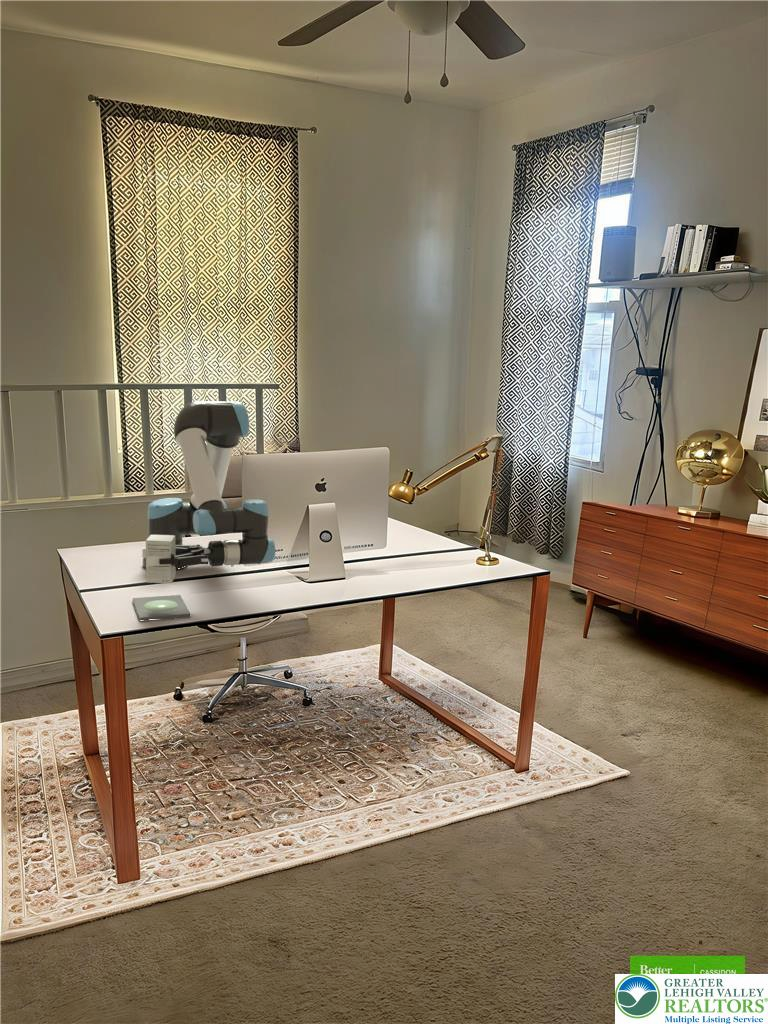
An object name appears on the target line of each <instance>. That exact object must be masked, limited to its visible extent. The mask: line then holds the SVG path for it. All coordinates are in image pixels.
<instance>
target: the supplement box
mask: <svg viewBox="0 0 768 1024" xmlns="http://www.w3.org/2000/svg"><path fill="white" fill-rule="evenodd" d="M145 548H146V568H145V582H146V583H150V584H151V583H152V584H153V583H155V584H172V583H173V581H174V580H175V578H176V571H177V570H176V567H174V566H172V565H163V566H147V556H165V555H170V556H171V554H174V555H175V536H174V535H150V536H149V537H148V536H147V539H145Z"/></svg>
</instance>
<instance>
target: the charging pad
mask: <svg viewBox="0 0 768 1024" xmlns="http://www.w3.org/2000/svg"><path fill="white" fill-rule="evenodd" d="M132 604H133V608H134V610H135V609H136V610H135V612H137V613H136V614H137V615H136V616H137V618H138V617H139V618H138V621H139V620H149V619H167V620H179V619H188V618H189V619H190V618H191V612H190V609H188V608H189V607H187V605H186V603H185V601H184V599H183V597H182V595H181V594H173V595H161V596H160V595H159V596H158V595H157V596H143V597H132ZM175 618H176V619H175ZM177 618H178V619H177Z"/></svg>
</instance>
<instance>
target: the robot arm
mask: <svg viewBox="0 0 768 1024" xmlns="http://www.w3.org/2000/svg"><path fill="white" fill-rule="evenodd" d="M249 433H250V418H249V413H248V410H247V408H246V406H245V405H244V404H243V403H242V402H241V401H235V400H234V401H232V400H229V401H226V400H225V401H220V400H217V401H215V400H214V401H213V400H194V401H192V402H191V401H190V402H189V403H188V404H186V405H184V407H182V409H180V411H179V412H178V414H177V416H176V418H175V421H174V424H173V436H174V440H175V443H176V445H177V446H178V447H180V449H181V452H182V455H183V456H182V457H183V459H184V463H185V467H186V472H187V474H188V478H189V482H190V485H191V489H192V495H191V496H190V500H189V501H183V499H182V498H180V497H164V498H160V499H156V500H153V501H152V502H150V503H149V504H148V506H147V516H146V519H147V538H148V537H149V536H150V535H174V536H175V555H174V554H171V556H170V555H165V556H147V566H163V565H172V566H174V567H176V569H178V568H182V567H184V566H186V567H189V566H190V567H191V566H197V565H199V566H200V565H210V566H211V567H222V566H230V567H232V568H233V567H235V565H236V566H238V565H262V564H269V563H272V562H273V561H274V560H275V557H276V543H275V541H274V540H273V538H271V537H270V538H269V537H268V528H269V507H268V503H267V502H266V501H265V500H262V499H253V498H252V499H251V498H250V499H246V500H244V501H243V502H242V505H241V507H228V506H227V504H226V502H225V501H224V499H223V498H222V495H223V492H224V487H225V482H226V479H227V474H228V470H229V466H230V462H231V458H232V453H233V449H234V448H236V447H237V446H238V445H239V443H240V440H241V438H242V439H243V438H246V437H248V435H249ZM241 533H242V534H241ZM226 534H241V535H242V539H224V540H223V541H222V540H210V541H209V542H208V545H207V547H203V546H202V545H201V544H189V545H188V544H183V537H184V536H191V535H192V536H193V535H198V536H214V535H215V536H216V535H226ZM141 549H142V553H141V554H142V567H143V566H144V567H145V568H144V567H143V568H144V569H146V547H142V548H141ZM210 566H209V567H210ZM182 569H183V568H182Z"/></svg>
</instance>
